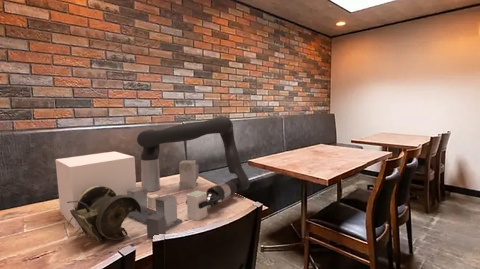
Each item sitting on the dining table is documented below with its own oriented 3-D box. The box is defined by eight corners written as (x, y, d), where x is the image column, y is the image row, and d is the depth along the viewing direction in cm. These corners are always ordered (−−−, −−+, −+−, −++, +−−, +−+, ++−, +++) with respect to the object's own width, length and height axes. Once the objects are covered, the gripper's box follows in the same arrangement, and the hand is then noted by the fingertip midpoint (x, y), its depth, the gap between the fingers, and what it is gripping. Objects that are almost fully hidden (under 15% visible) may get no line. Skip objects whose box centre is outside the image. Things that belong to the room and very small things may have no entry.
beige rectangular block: (147, 206, 124) (147, 196, 123) (155, 204, 126) (155, 193, 126) (151, 208, 121) (151, 198, 120) (160, 206, 124) (159, 195, 123)
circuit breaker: (199, 182, 160) (198, 158, 158) (193, 190, 146) (192, 163, 144) (187, 182, 161) (186, 158, 159) (179, 189, 147) (178, 163, 145)
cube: (118, 198, 135) (114, 151, 133) (137, 209, 121) (134, 156, 118) (60, 213, 117) (55, 159, 114) (75, 228, 103) (70, 167, 100)
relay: (147, 236, 95) (146, 218, 94) (154, 231, 99) (153, 213, 98) (158, 239, 93) (158, 220, 93) (165, 233, 97) (164, 215, 96)
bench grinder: (122, 208, 113) (96, 171, 104) (151, 219, 98) (124, 177, 90) (77, 246, 99) (43, 207, 91) (103, 266, 85) (66, 221, 77)
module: (187, 217, 111) (186, 193, 110) (197, 212, 116) (197, 189, 115) (197, 220, 108) (196, 196, 107) (207, 215, 113) (206, 192, 111)
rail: (124, 215, 114) (123, 190, 112) (142, 208, 121) (141, 185, 120) (164, 231, 99) (163, 202, 98) (182, 222, 106) (181, 195, 105)
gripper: (207, 182, 126) (180, 192, 113) (231, 187, 118) (205, 199, 105) (207, 197, 127) (181, 209, 114) (231, 204, 119) (206, 217, 106)
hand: (193, 204), depth 109 cm, fingers open, 6 cm apart
